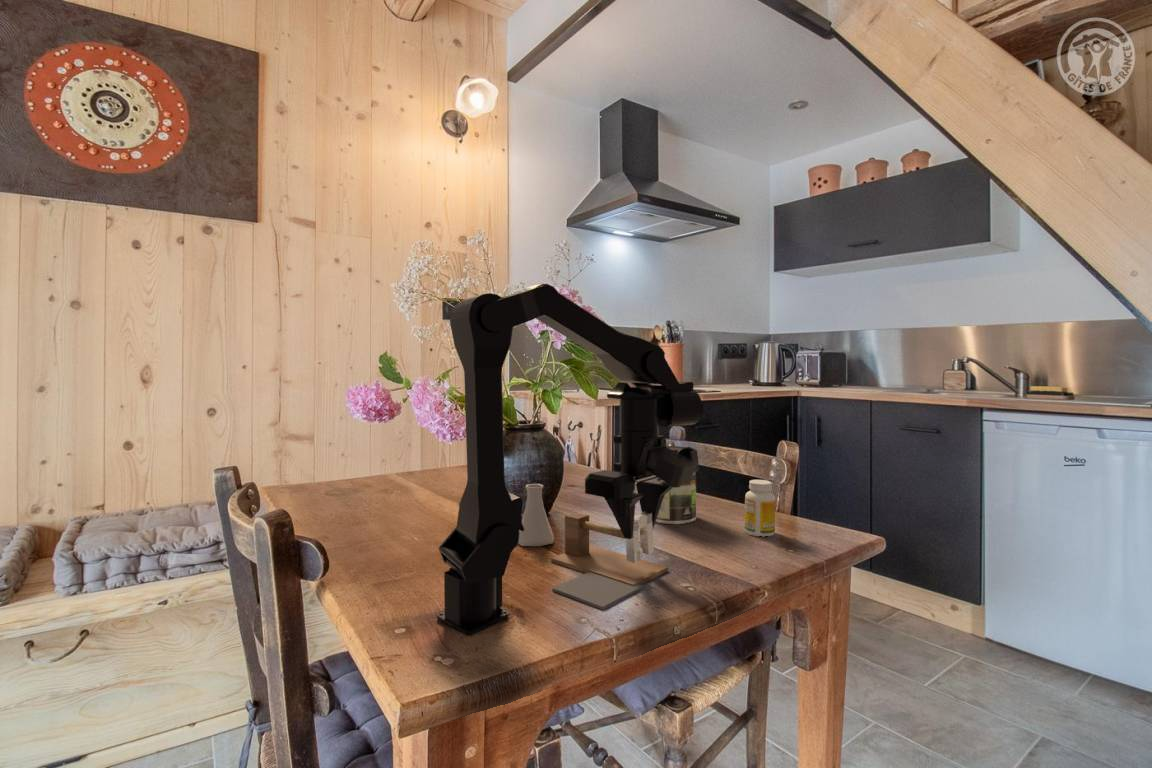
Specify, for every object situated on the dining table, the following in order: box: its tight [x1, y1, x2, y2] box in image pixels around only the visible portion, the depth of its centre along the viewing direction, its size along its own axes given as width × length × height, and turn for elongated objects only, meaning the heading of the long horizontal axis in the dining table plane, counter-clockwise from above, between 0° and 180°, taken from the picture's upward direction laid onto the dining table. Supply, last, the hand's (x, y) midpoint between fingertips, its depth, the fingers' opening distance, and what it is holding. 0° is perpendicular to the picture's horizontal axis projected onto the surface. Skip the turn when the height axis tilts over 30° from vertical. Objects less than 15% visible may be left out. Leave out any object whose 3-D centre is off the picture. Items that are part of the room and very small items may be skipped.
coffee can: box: [655, 445, 697, 525], centre depth 113 cm, size 10×10×14 cm
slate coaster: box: [551, 572, 644, 611], centre depth 77 cm, size 9×9×1 cm
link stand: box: [550, 511, 669, 586], centre depth 86 cm, size 9×16×7 cm, turn 48°
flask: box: [518, 483, 555, 547], centre depth 98 cm, size 7×7×10 cm
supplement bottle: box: [744, 479, 776, 538], centre depth 103 cm, size 5×5×10 cm
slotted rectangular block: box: [625, 511, 655, 563], centre depth 82 cm, size 5×1×6 cm, turn 139°
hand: (639, 534), depth 82 cm, fingers closed on slotted rectangular block, 5 cm apart
